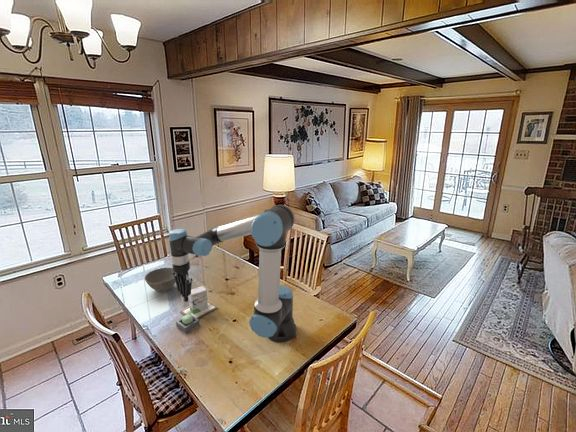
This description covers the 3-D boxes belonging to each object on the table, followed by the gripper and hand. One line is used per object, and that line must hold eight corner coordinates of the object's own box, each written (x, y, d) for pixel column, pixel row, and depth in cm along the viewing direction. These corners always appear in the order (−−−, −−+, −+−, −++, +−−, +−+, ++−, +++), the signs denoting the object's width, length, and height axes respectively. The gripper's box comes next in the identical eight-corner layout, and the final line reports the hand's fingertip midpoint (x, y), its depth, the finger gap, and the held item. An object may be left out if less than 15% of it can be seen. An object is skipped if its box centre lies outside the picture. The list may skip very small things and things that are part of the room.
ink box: (193, 314, 155) (190, 294, 152) (189, 309, 159) (187, 290, 155) (208, 308, 160) (207, 289, 156) (205, 304, 164) (203, 285, 160)
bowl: (139, 295, 173) (137, 280, 170) (160, 280, 191) (158, 265, 188) (168, 300, 169) (165, 284, 166) (186, 283, 186) (184, 269, 183)
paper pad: (217, 308, 162) (217, 307, 161) (193, 321, 150) (193, 320, 150) (204, 300, 169) (204, 299, 169) (180, 312, 158) (180, 311, 157)
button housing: (199, 325, 148) (199, 320, 147) (185, 333, 142) (184, 328, 141) (190, 318, 153) (190, 313, 152) (176, 326, 147) (175, 321, 146)
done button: (195, 322, 147) (194, 317, 147) (186, 327, 144) (185, 322, 143) (189, 318, 150) (188, 313, 150) (180, 323, 147) (179, 318, 146)
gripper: (196, 263, 136) (200, 307, 143) (180, 255, 144) (184, 298, 151) (181, 269, 131) (186, 315, 138) (165, 260, 138) (171, 304, 145)
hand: (185, 306), depth 144 cm, fingers closed
